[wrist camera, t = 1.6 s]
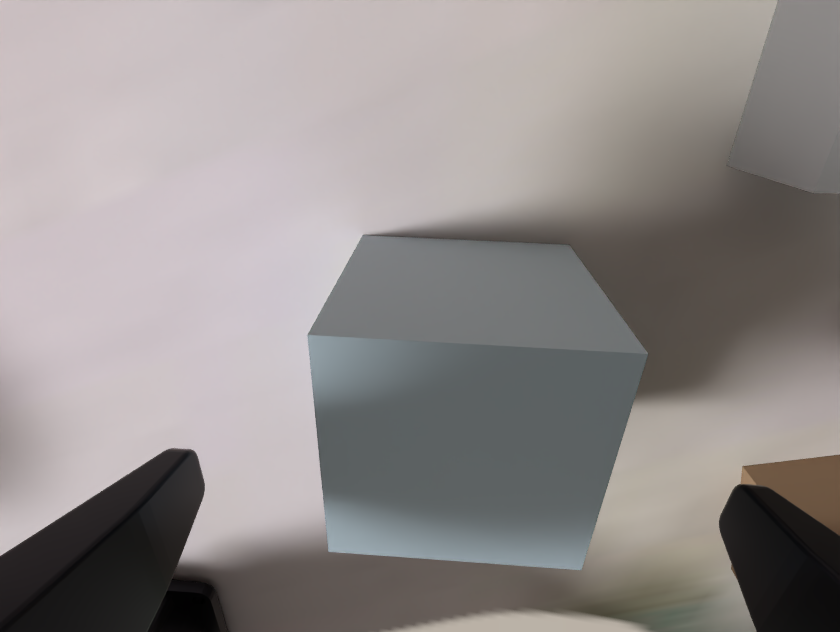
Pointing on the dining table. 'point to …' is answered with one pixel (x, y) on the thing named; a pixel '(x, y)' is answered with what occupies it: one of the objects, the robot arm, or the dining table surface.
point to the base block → (795, 101)
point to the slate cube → (469, 401)
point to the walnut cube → (803, 485)
